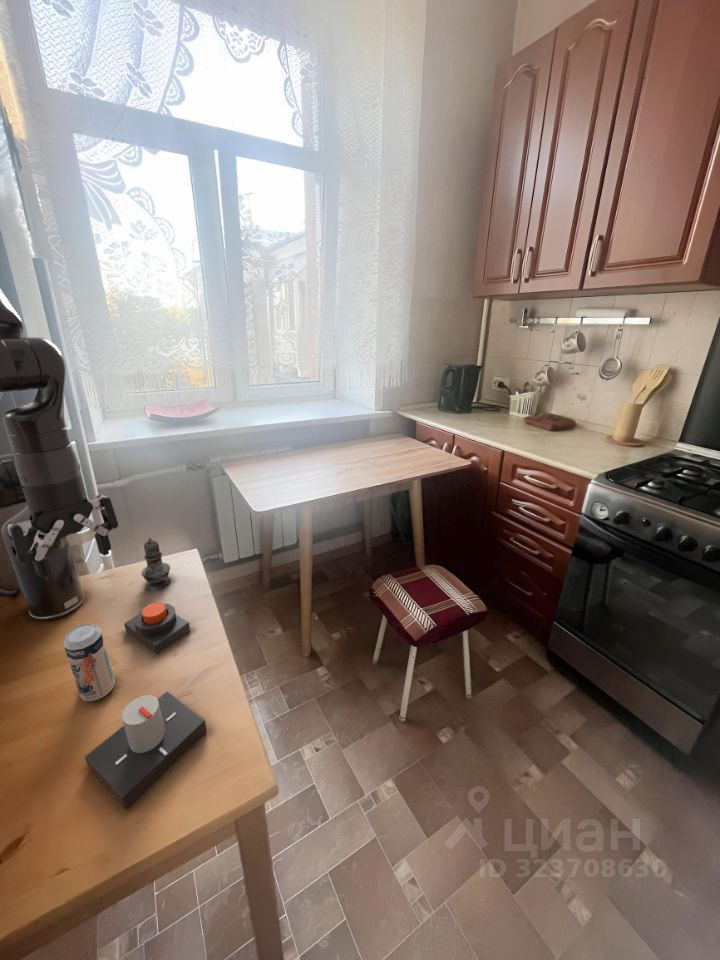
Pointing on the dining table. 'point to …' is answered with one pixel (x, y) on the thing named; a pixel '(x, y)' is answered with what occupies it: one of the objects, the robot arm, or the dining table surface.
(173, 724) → the timer panel
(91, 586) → the dining table surface
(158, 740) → the timer knob
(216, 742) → the dining table surface
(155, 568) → the dark grey stone stupa
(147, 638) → the button block
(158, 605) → the button
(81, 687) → the beer can
